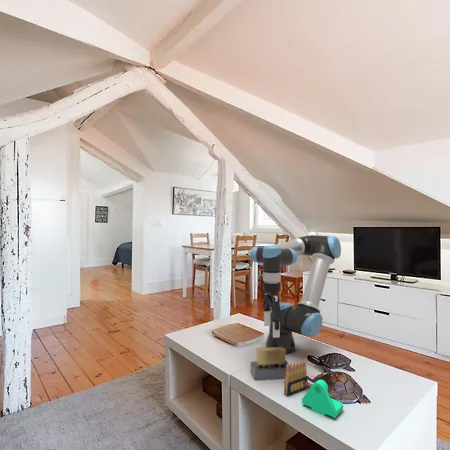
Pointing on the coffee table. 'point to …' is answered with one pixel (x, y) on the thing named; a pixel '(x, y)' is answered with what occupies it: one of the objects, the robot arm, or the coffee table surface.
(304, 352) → the coffee table surface
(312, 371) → the coffee table surface
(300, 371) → the ammunition clip
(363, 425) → the coffee table surface
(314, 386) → the camera mount
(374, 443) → the coffee table surface
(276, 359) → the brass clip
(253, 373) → the grey block with holes
